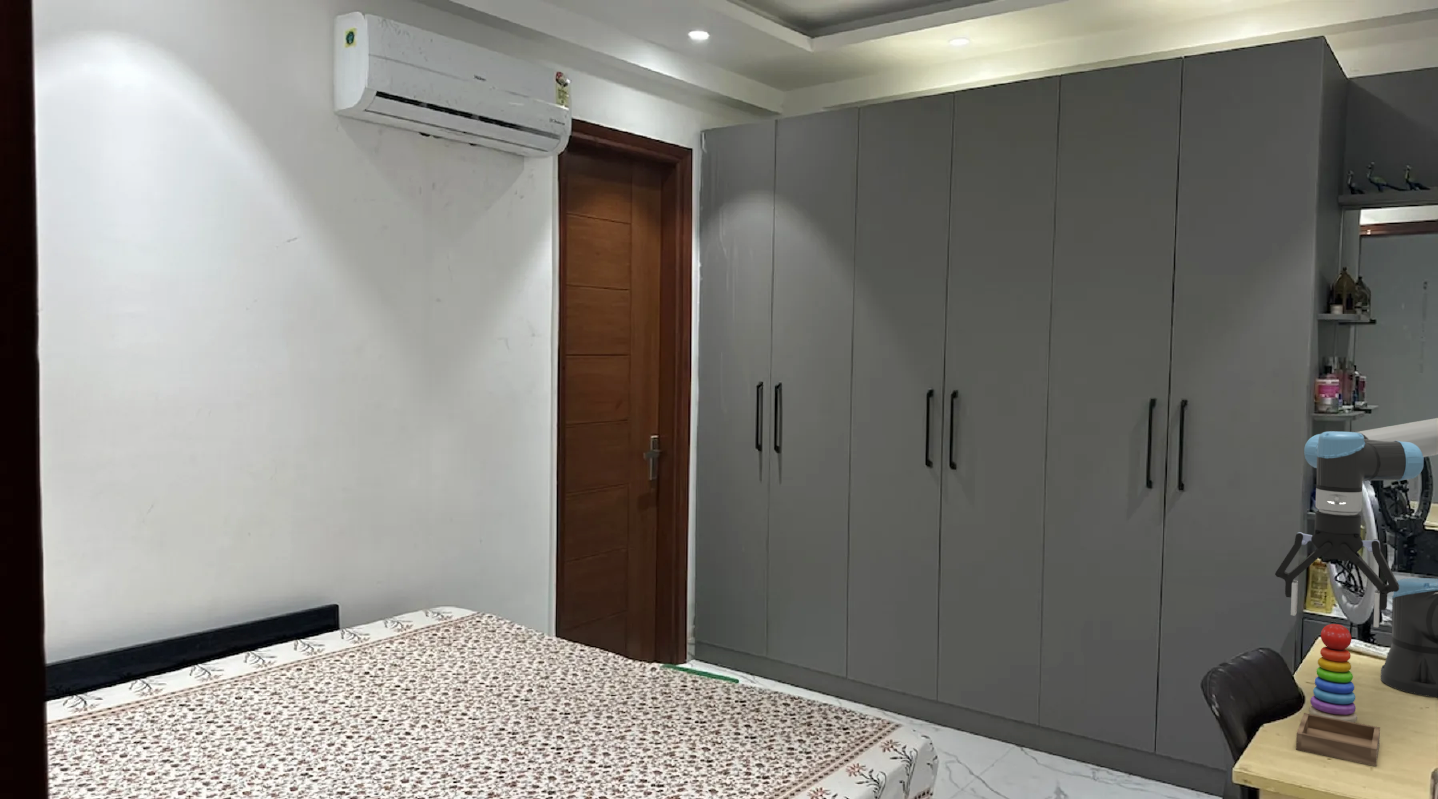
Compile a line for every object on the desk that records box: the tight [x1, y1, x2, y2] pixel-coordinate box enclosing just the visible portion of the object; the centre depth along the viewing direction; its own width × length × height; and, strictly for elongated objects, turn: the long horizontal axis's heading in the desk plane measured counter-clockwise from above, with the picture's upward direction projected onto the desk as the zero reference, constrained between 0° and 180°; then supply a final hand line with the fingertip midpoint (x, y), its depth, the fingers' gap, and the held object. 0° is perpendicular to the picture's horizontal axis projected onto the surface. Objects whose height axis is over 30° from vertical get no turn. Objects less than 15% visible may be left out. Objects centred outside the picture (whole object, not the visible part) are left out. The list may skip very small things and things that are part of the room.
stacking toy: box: [1308, 623, 1358, 723], centre depth 190 cm, size 8×8×19 cm
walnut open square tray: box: [1295, 712, 1381, 767], centre depth 177 cm, size 12×12×3 cm
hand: (1334, 620), depth 189 cm, fingers open, 13 cm apart
